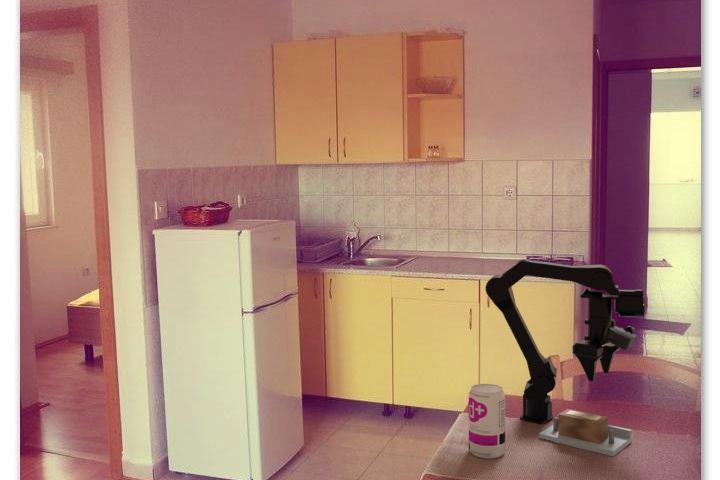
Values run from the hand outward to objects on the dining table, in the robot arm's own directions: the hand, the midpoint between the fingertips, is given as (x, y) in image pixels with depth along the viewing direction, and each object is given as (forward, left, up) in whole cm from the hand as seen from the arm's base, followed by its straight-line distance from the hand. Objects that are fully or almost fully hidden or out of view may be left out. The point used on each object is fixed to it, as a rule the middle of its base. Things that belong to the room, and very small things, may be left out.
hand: (598, 377), depth 177 cm
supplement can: (-12, -34, -12) cm, 38 cm away
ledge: (+2, -13, -12) cm, 18 cm away
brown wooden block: (+2, -14, -11) cm, 18 cm away
